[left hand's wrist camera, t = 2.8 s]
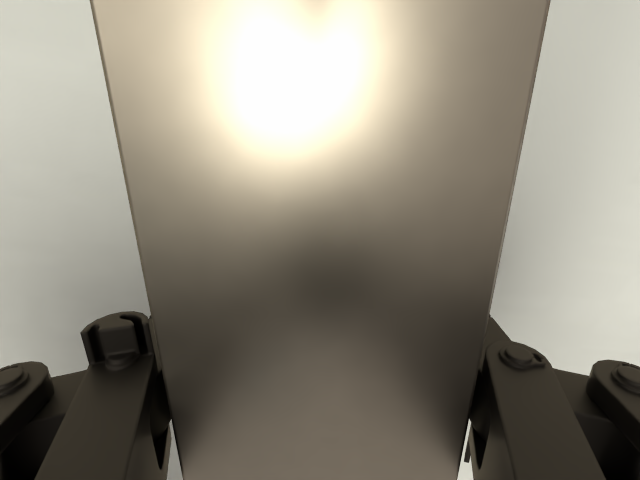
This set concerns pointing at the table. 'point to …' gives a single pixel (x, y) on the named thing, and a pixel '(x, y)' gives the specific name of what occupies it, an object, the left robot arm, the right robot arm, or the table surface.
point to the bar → (320, 219)
